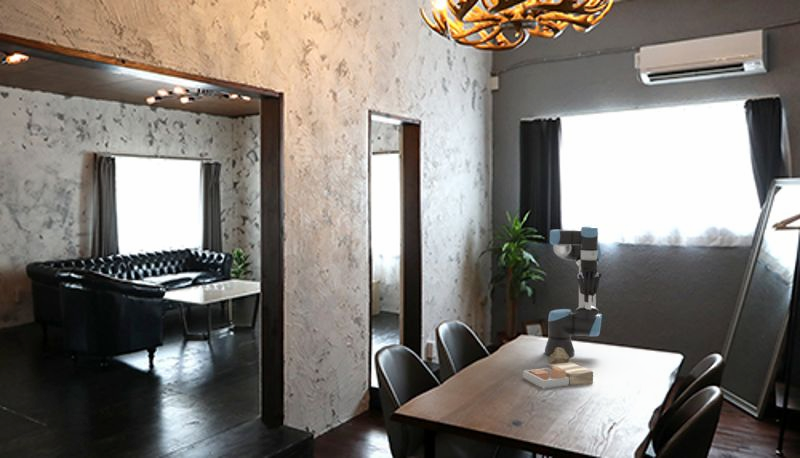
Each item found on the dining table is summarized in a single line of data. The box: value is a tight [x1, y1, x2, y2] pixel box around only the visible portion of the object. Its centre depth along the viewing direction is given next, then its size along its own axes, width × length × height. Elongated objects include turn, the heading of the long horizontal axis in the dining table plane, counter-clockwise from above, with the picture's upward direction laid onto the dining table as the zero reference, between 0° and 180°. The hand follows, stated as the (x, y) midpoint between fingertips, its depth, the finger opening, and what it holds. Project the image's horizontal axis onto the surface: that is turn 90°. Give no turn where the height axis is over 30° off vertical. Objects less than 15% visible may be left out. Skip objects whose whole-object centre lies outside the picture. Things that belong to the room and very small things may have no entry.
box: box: [522, 367, 570, 390], centre depth 255 cm, size 16×13×4 cm
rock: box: [548, 347, 570, 366], centre depth 275 cm, size 11×12×10 cm
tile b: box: [551, 367, 565, 379], centre depth 253 cm, size 6×6×3 cm
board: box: [548, 361, 594, 386], centre depth 260 cm, size 16×12×5 cm
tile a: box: [529, 368, 549, 380], centre depth 259 cm, size 6×6×3 cm
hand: (588, 308), depth 272 cm, fingers closed
